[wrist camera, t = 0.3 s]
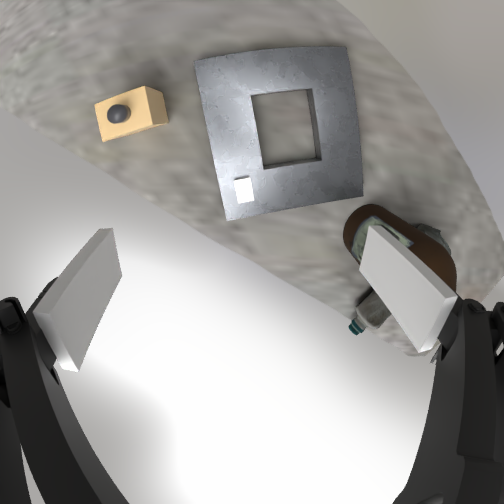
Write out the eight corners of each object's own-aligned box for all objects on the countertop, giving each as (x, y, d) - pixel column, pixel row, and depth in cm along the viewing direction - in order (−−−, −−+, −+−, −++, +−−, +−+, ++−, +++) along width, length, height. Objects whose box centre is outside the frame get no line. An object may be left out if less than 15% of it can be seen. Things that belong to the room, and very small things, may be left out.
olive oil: (403, 215, 43) (505, 296, 21) (374, 265, 47) (453, 366, 25) (358, 189, 40) (473, 274, 18) (327, 247, 44) (406, 364, 22)
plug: (121, 105, 31) (86, 104, 21) (162, 92, 31) (139, 83, 21) (128, 135, 33) (95, 144, 23) (168, 122, 33) (147, 125, 23)
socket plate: (195, 64, 29) (192, 59, 26) (339, 50, 30) (349, 45, 27) (226, 214, 40) (227, 223, 37) (356, 191, 40) (366, 198, 37)
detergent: (419, 207, 42) (324, 304, 49) (445, 224, 36) (340, 331, 43) (440, 247, 48) (358, 328, 55) (461, 264, 42) (373, 352, 49)
